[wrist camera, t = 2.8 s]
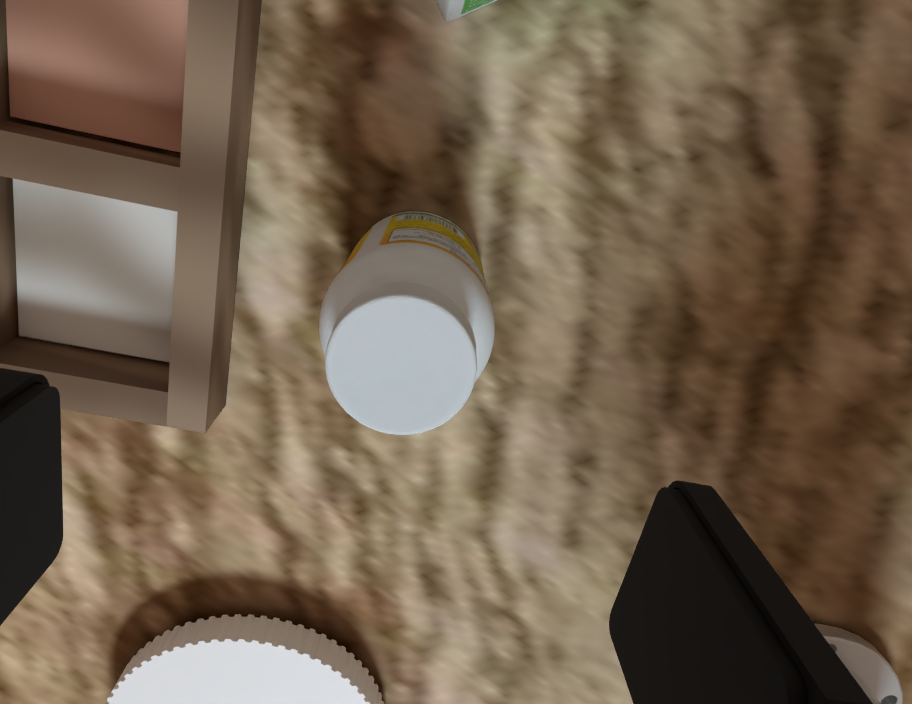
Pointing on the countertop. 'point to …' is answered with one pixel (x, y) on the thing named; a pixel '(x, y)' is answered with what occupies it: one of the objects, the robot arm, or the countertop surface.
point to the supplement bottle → (407, 324)
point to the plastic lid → (244, 666)
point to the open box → (125, 199)
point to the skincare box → (460, 7)
